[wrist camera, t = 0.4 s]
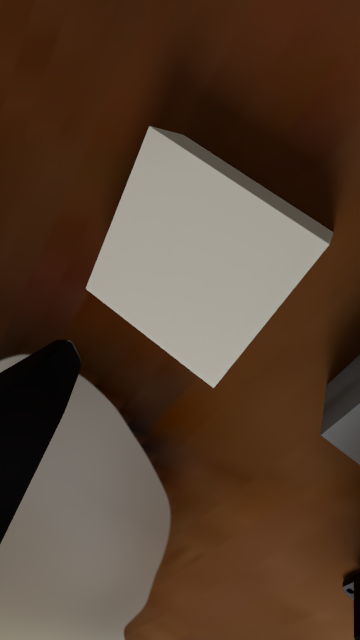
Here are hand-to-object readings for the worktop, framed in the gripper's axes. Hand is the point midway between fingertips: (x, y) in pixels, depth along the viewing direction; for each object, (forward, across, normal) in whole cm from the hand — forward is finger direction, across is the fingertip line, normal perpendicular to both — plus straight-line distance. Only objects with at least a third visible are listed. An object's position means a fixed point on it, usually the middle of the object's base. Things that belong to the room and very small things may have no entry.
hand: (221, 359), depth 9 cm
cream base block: (+13, +4, +4) cm, 14 cm away
